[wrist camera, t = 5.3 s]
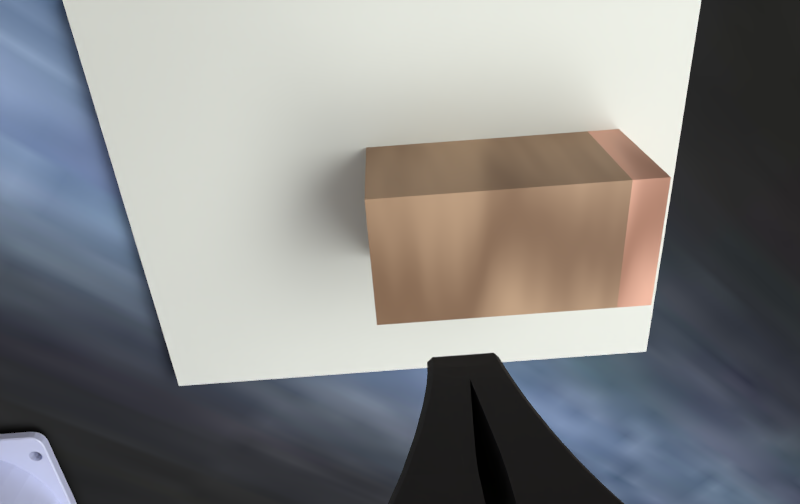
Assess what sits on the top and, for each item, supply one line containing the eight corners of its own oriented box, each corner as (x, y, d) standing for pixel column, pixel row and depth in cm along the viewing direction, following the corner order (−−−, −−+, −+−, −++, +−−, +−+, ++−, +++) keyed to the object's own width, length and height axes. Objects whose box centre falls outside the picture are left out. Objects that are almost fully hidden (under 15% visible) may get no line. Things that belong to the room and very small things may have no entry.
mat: (641, 343, 25) (646, 351, 24) (182, 377, 25) (179, 386, 24) (700, -52, 18) (709, -51, 18) (68, -6, 18) (61, -4, 18)
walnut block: (376, 257, 22) (606, 240, 22) (376, 325, 18) (651, 305, 18) (366, 147, 20) (619, 129, 20) (364, 199, 16) (670, 177, 16)
